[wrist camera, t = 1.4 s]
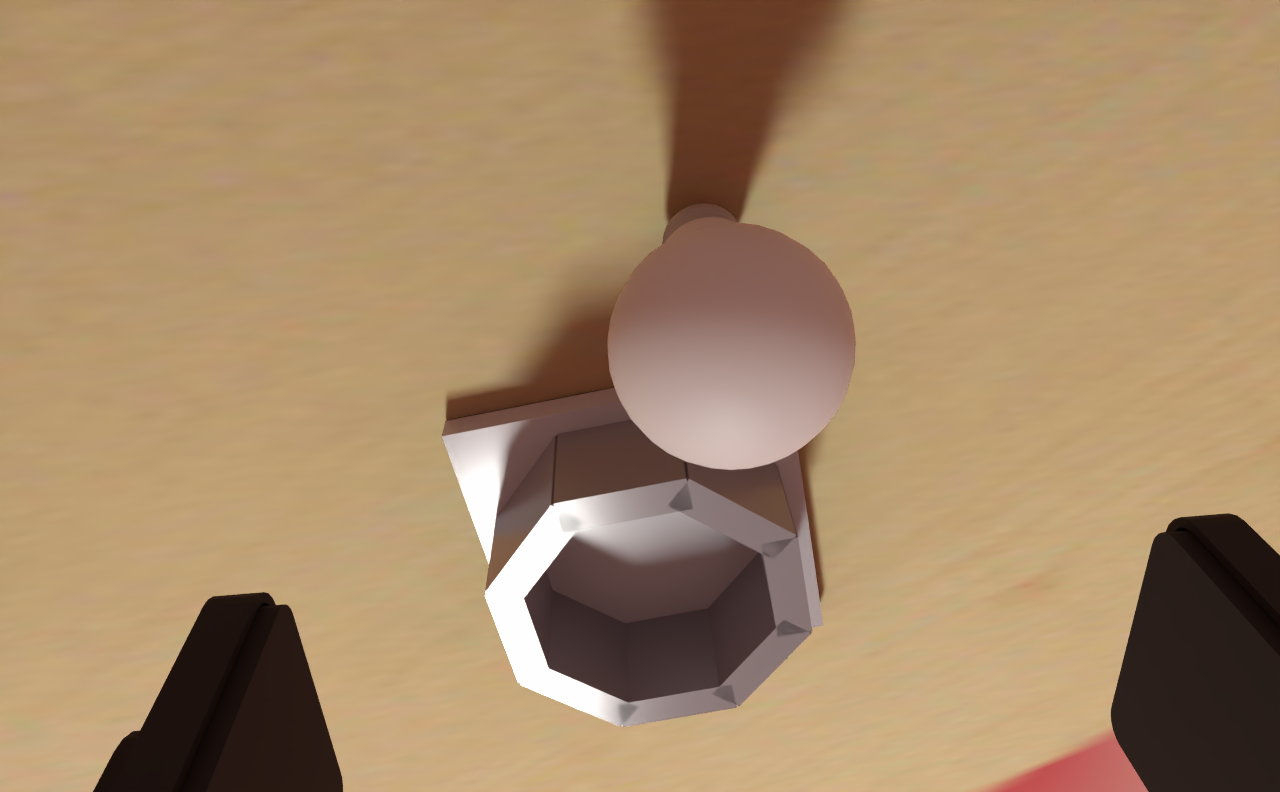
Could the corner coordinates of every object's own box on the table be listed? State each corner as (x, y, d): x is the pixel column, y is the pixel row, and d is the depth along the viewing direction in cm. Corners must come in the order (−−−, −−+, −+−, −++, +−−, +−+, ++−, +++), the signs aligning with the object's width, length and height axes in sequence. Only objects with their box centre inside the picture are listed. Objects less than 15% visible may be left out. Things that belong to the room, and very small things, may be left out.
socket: (781, 354, 33) (809, 432, 29) (818, 607, 39) (845, 704, 35) (445, 420, 34) (423, 506, 30) (532, 659, 40) (525, 759, 36)
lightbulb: (737, 98, 29) (808, 230, 19) (827, 258, 31) (927, 444, 22) (567, 204, 30) (554, 376, 21) (666, 348, 33) (696, 559, 23)
